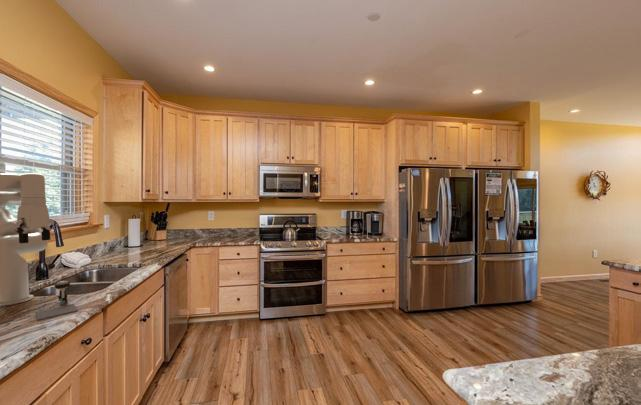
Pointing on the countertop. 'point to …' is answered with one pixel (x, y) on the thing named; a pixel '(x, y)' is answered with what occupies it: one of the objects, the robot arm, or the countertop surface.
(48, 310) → the charcoal mat
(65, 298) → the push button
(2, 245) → the robot arm
